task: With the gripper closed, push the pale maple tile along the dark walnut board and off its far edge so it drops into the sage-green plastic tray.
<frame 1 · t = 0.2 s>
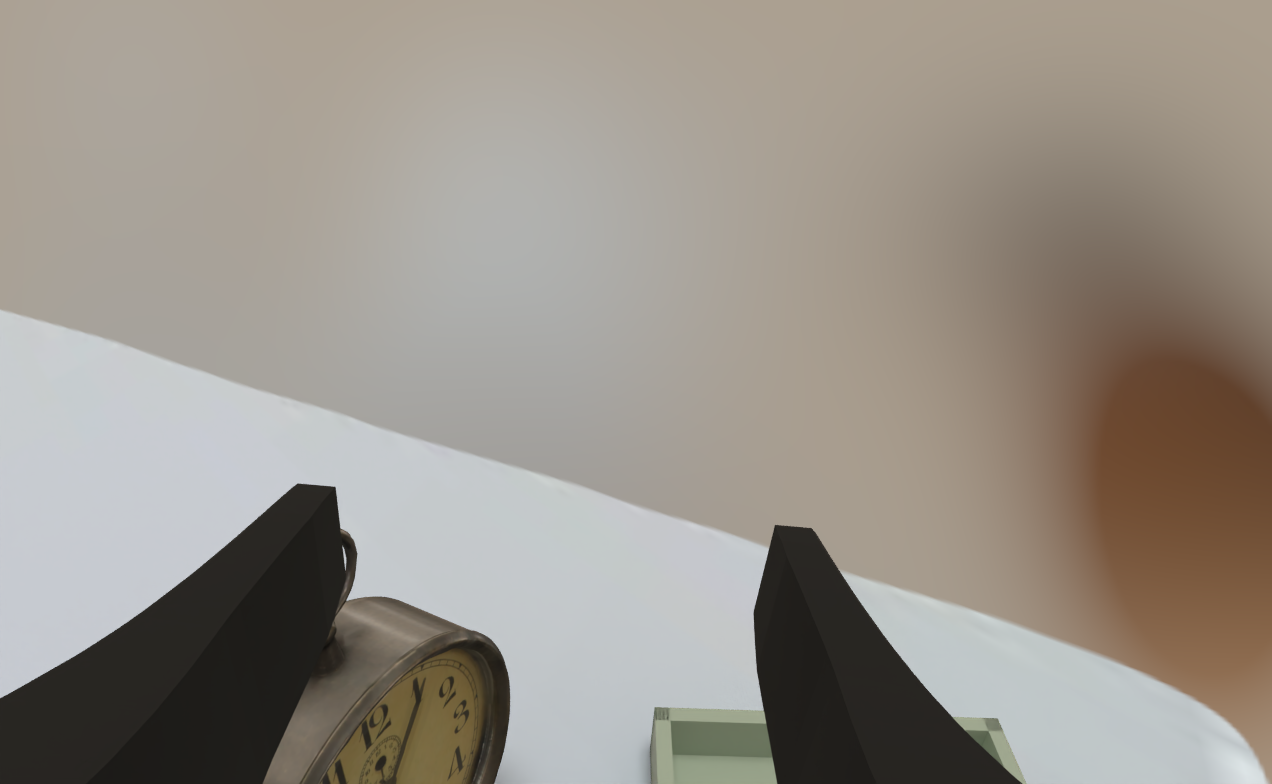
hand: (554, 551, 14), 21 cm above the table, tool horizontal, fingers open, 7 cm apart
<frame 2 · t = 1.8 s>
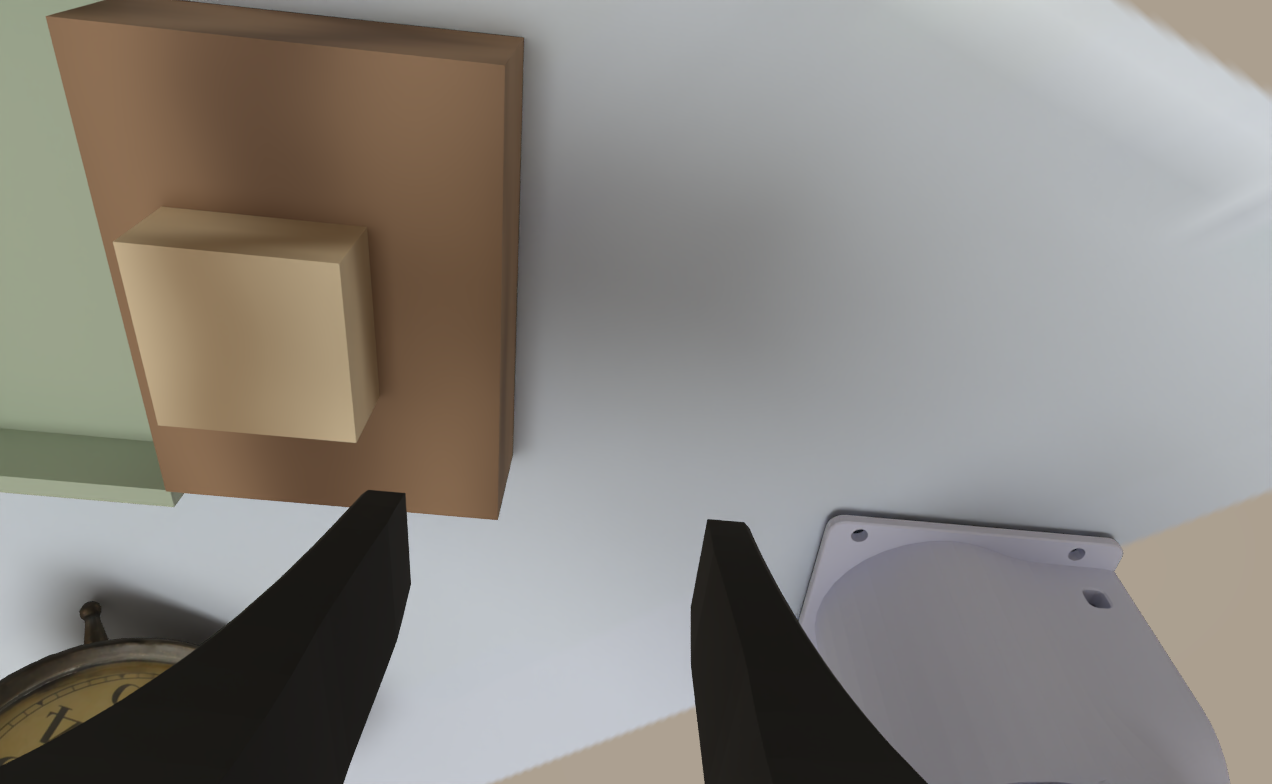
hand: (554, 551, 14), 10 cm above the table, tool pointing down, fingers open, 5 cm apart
maple tile: (277, 307, 20), point 3 cm above the table, touching walnut board
alarm clock: (211, 661, 32), on the table
sage tray: (12, 226, 22), on the table
walnut board: (348, 259, 23), on the table
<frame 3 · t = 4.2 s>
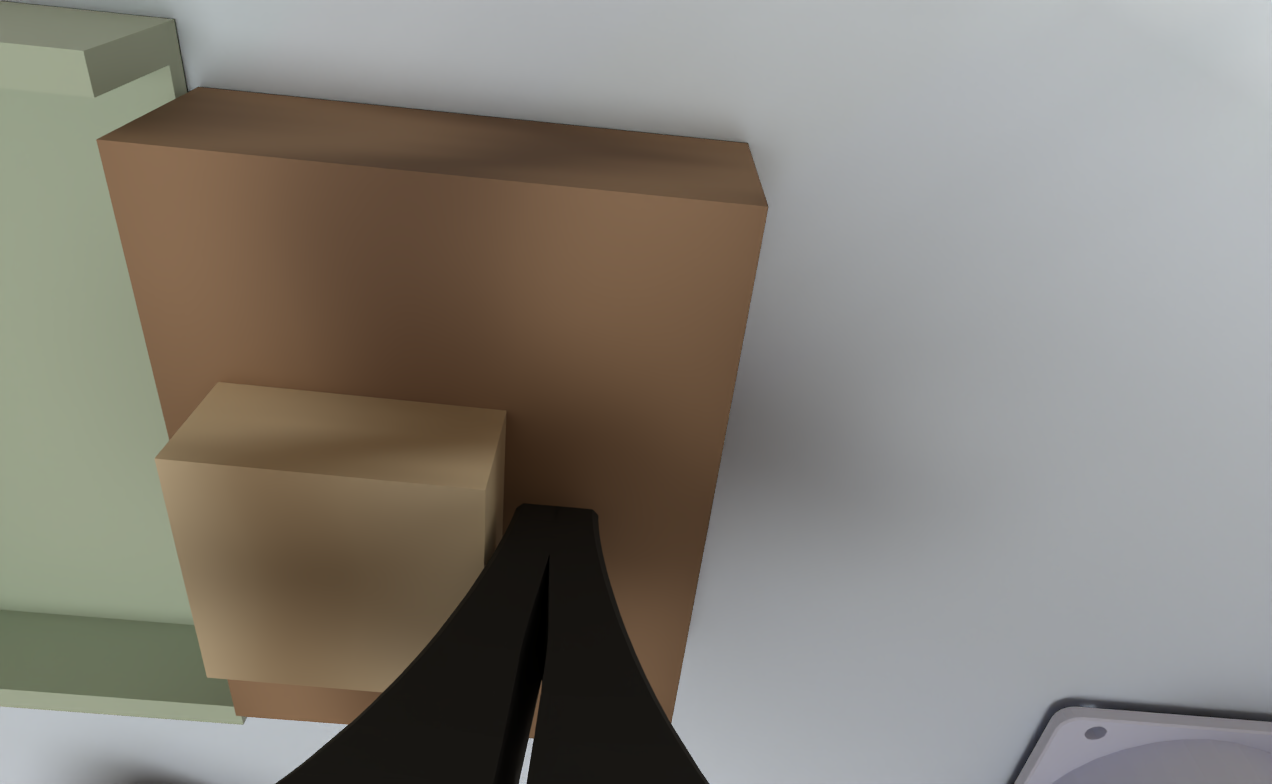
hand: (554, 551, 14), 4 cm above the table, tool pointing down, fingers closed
maple tile: (371, 506, 15), point 3 cm above the table, touching gripper, walnut board
sage tray: (37, 377, 17), on the table
walnut board: (477, 416, 17), on the table
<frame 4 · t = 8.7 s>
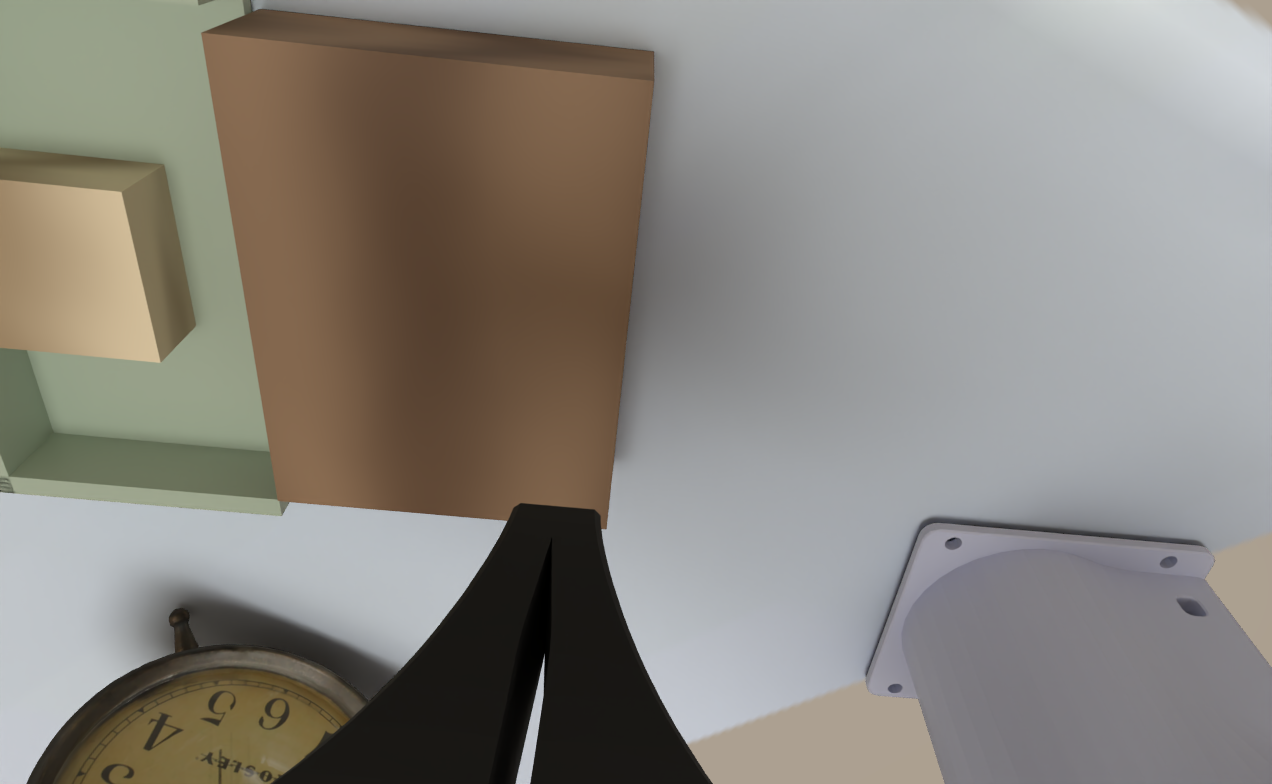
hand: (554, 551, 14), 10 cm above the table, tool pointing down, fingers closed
maple tile: (46, 273, 20), point 2 cm above the table, tilted 180°, touching sage tray
alarm clock: (293, 667, 32), on the table
sage tray: (129, 237, 22), on the table
walnut board: (461, 270, 23), on the table
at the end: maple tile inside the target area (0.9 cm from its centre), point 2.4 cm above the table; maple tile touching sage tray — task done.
